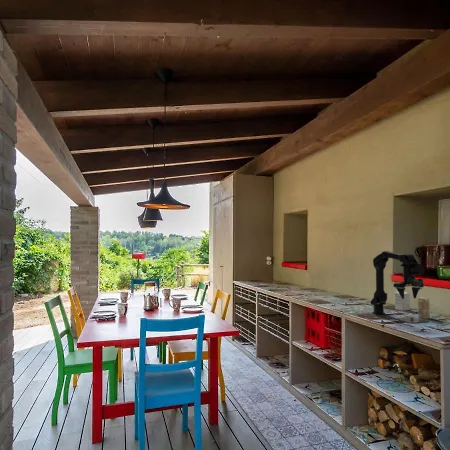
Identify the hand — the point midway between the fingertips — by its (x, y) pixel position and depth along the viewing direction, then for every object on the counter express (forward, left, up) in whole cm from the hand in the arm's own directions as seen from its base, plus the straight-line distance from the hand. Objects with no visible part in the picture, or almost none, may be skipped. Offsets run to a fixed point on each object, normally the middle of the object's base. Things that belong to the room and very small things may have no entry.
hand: (408, 298), depth 229 cm
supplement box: (-34, +25, -15) cm, 45 cm away
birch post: (-7, +18, -15) cm, 24 cm away
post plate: (-3, +4, -15) cm, 15 cm away
